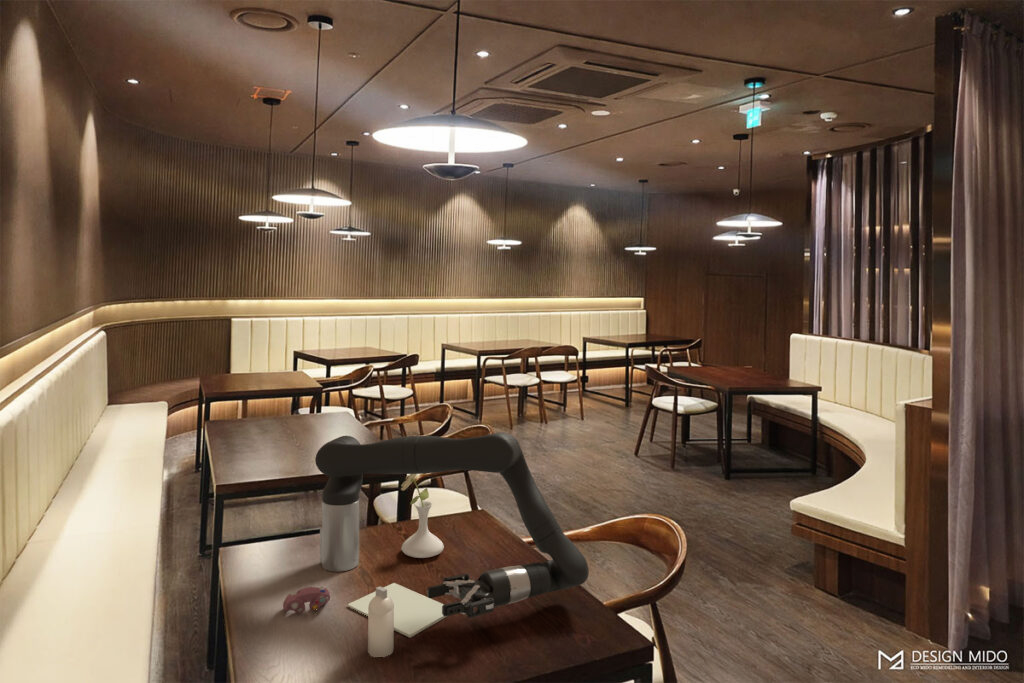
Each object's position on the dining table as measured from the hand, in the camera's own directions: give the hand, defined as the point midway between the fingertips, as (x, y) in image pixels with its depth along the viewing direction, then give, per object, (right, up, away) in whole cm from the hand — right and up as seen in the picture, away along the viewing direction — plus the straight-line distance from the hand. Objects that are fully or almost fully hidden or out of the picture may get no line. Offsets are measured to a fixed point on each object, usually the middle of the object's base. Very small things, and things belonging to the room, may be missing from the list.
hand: (435, 601), depth 135 cm
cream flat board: (-9, -7, +12) cm, 16 cm away
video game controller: (-30, -6, +11) cm, 32 cm away
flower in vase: (-9, -4, +42) cm, 43 cm away
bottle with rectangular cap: (-10, -8, -4) cm, 14 cm away
